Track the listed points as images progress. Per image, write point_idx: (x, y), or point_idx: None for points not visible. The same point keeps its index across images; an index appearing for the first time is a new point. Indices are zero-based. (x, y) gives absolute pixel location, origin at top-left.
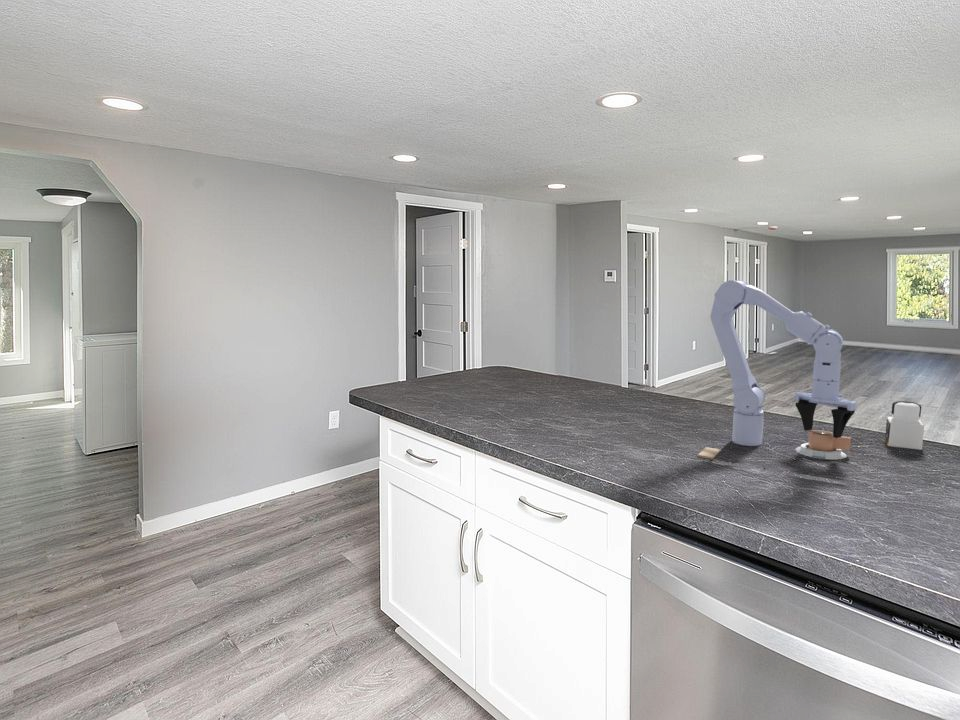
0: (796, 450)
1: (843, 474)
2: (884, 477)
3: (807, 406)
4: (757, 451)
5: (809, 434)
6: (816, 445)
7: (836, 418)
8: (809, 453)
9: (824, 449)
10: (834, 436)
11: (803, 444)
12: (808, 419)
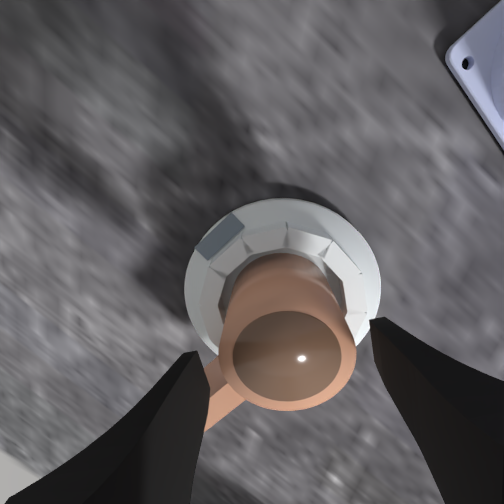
0: (336, 218)
1: (43, 193)
2: (14, 308)
3: (485, 495)
4: (436, 31)
5: (321, 298)
6: (258, 274)
7: (101, 452)
8: (261, 227)
9: (234, 290)
10: (187, 354)
11: (351, 273)
12: (405, 387)
